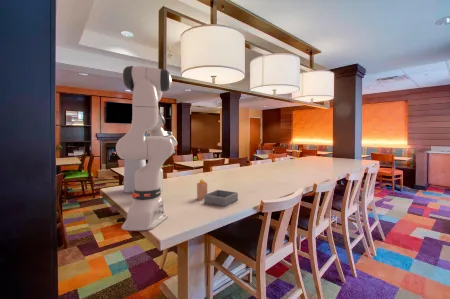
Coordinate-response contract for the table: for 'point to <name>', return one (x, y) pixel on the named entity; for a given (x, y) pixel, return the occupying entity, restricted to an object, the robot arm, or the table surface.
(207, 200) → the tray
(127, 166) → the plastic bottle
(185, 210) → the table surface
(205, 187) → the square container
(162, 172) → the milk carton
